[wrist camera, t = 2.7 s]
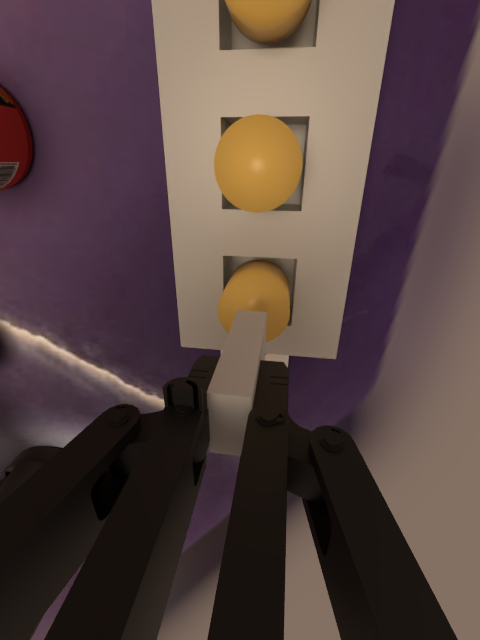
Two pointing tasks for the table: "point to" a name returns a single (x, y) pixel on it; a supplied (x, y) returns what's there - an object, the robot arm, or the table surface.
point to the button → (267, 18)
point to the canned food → (13, 142)
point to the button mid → (258, 163)
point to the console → (316, 147)
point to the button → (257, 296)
